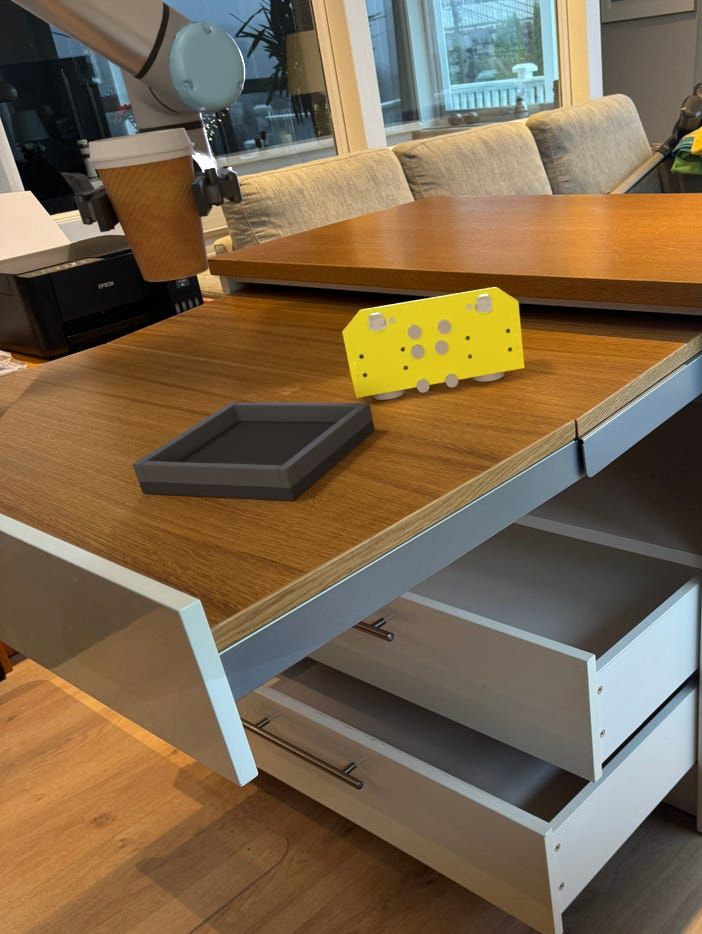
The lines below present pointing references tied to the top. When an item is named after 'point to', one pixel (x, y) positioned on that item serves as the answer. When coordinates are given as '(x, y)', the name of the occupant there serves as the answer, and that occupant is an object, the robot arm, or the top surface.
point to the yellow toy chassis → (433, 342)
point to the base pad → (256, 450)
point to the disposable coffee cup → (154, 200)
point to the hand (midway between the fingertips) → (149, 207)
